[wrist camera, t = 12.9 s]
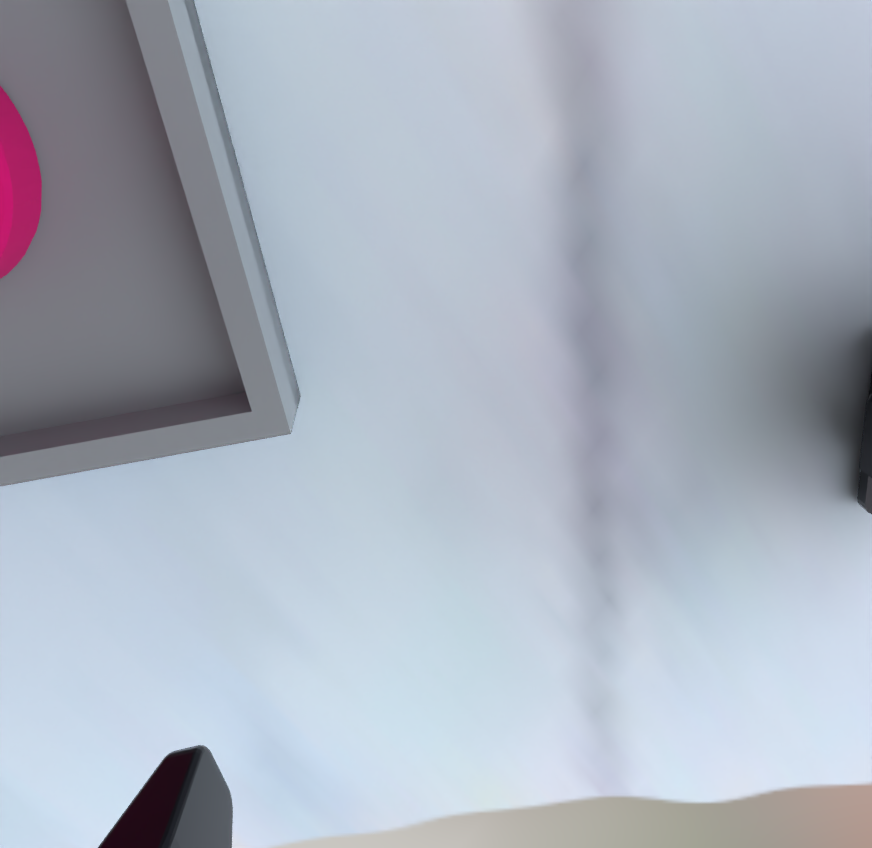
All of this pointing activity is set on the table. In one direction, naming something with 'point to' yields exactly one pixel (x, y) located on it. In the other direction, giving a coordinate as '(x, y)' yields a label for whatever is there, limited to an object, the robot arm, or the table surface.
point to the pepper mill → (17, 186)
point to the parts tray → (131, 250)
